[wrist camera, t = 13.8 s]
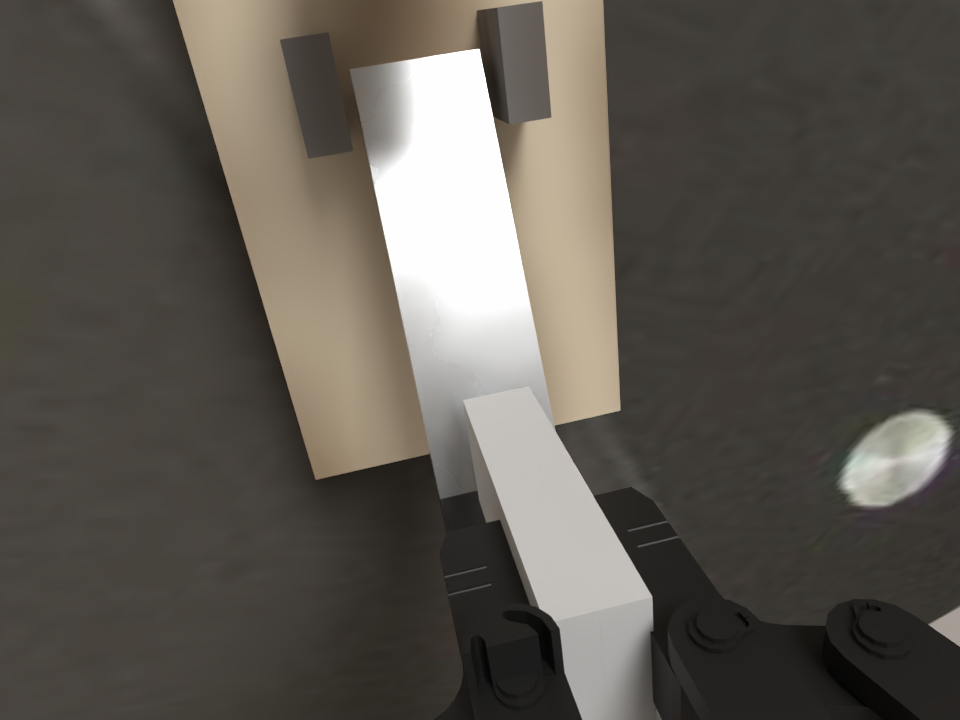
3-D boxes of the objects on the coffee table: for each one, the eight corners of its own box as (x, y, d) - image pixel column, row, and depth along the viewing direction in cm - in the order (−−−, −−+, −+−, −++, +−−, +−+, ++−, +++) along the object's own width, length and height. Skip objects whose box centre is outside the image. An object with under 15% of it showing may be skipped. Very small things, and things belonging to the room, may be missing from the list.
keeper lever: (450, 552, 17) (453, 565, 16) (351, 85, 16) (349, 68, 15) (565, 523, 17) (576, 535, 16) (473, 66, 17) (479, 49, 16)
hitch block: (317, 402, 26) (314, 525, 19) (88, -420, 16) (-75, -729, 9) (571, 348, 27) (648, 446, 20) (510, -446, 17) (624, -736, 10)
